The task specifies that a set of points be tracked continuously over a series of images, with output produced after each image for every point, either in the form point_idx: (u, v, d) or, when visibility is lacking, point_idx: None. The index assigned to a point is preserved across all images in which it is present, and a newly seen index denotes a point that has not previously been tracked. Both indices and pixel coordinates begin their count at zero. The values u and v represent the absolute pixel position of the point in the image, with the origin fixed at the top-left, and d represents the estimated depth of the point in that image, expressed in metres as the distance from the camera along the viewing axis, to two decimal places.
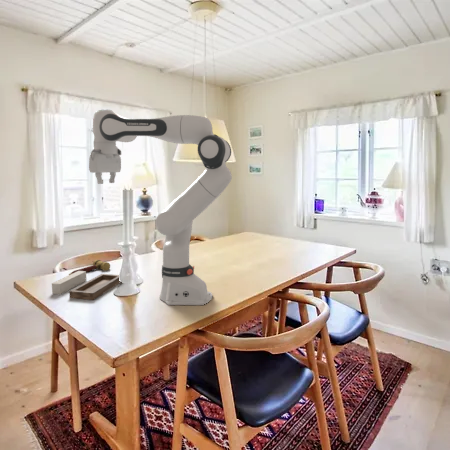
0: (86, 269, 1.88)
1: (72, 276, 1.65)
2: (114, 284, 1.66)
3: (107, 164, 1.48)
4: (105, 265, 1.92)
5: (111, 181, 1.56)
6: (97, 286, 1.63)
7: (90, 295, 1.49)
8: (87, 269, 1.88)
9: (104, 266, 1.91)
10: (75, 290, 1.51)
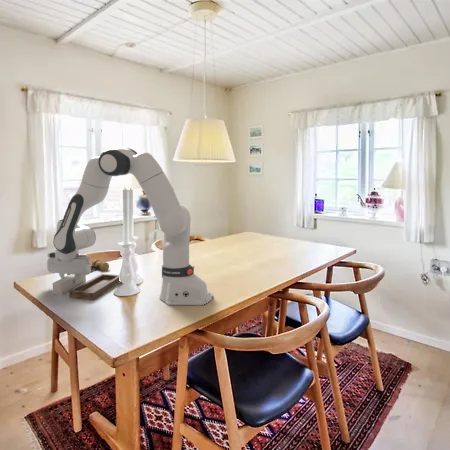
0: None
1: (72, 276, 1.65)
2: (114, 284, 1.66)
3: None
4: (104, 265, 1.91)
5: None
6: (97, 286, 1.63)
7: (90, 295, 1.49)
8: None
9: (103, 266, 1.91)
10: (75, 290, 1.51)
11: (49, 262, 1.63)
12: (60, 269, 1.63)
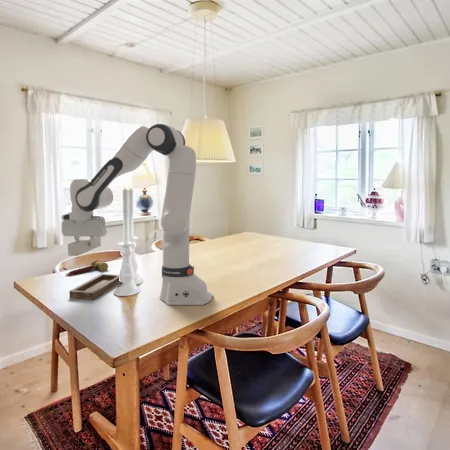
0: (84, 269, 1.87)
1: (87, 239, 1.61)
2: (114, 284, 1.66)
3: None
4: (103, 265, 1.91)
5: None
6: (97, 286, 1.63)
7: (90, 295, 1.49)
8: (85, 269, 1.87)
9: (102, 266, 1.91)
10: (75, 290, 1.51)
11: (63, 225, 1.58)
12: (74, 232, 1.58)
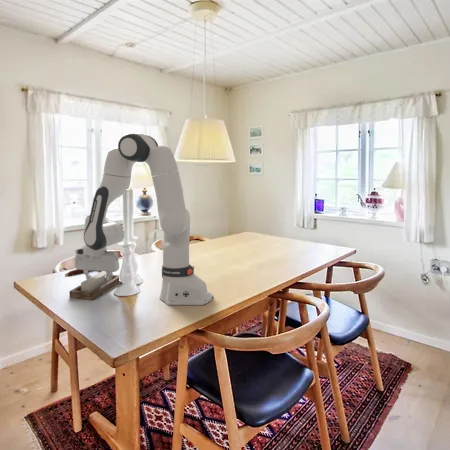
0: None
1: (100, 275, 1.62)
2: (114, 284, 1.66)
3: None
4: None
5: (90, 277, 1.63)
6: None
7: (90, 295, 1.49)
8: None
9: None
10: (75, 290, 1.51)
11: (77, 259, 1.60)
12: (87, 266, 1.60)
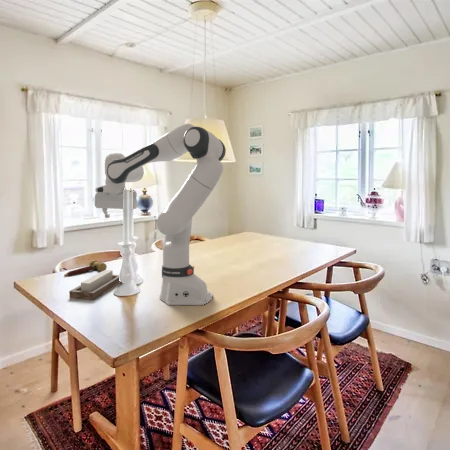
0: (82, 270, 1.86)
1: (100, 275, 1.62)
2: (114, 284, 1.66)
3: None
4: (101, 266, 1.90)
5: (108, 216, 1.69)
6: None
7: (90, 295, 1.49)
8: (83, 270, 1.87)
9: (100, 267, 1.90)
10: (75, 290, 1.51)
11: (96, 197, 1.67)
12: (107, 204, 1.66)
